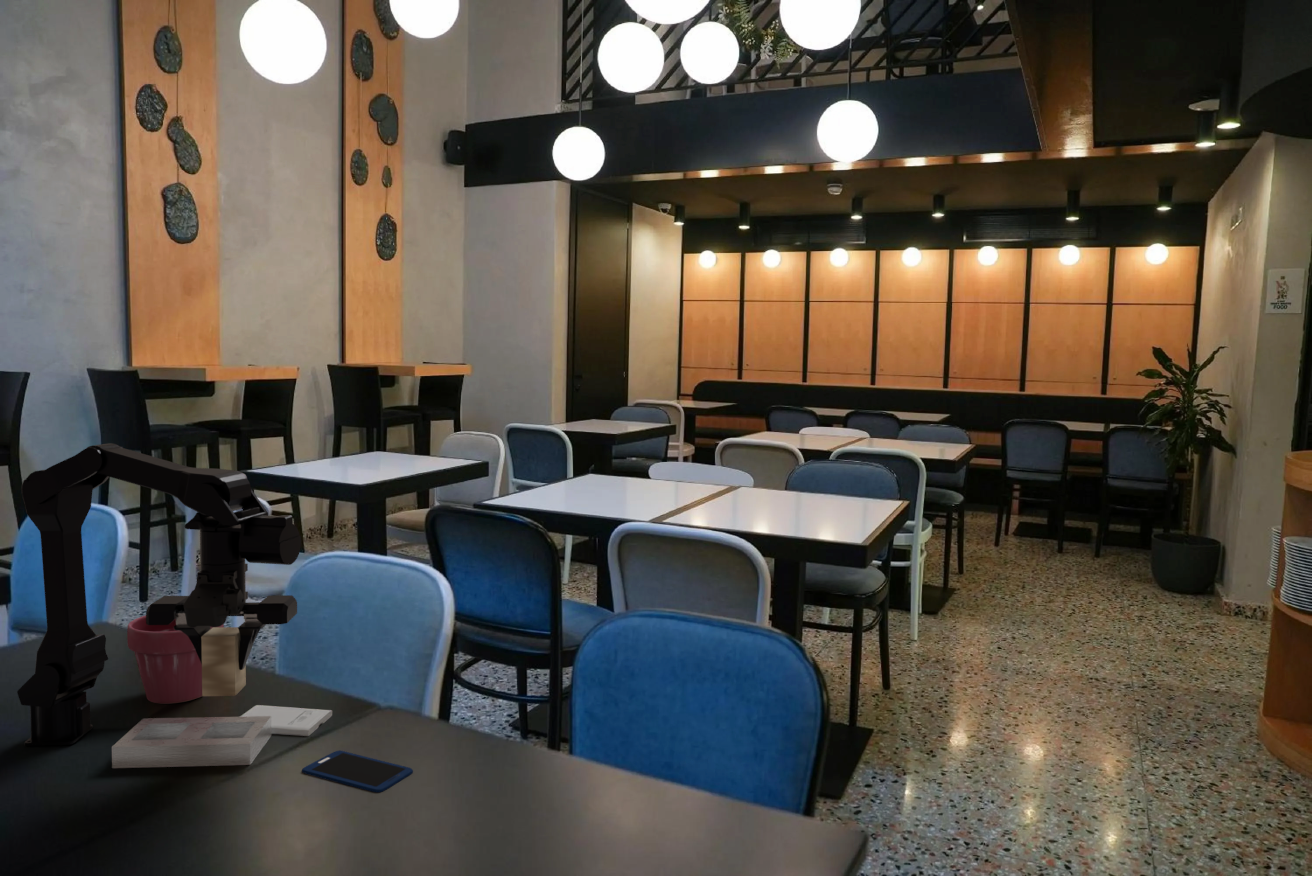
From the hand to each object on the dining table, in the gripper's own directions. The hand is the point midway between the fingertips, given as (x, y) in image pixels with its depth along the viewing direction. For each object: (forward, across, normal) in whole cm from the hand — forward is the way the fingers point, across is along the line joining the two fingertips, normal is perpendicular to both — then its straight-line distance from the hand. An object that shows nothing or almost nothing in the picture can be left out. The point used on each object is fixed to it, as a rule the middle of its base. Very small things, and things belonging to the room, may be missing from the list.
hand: (224, 669), depth 130 cm
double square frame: (+12, -4, 0) cm, 13 cm away
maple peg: (+3, 0, 0) cm, 3 cm away
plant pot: (+12, -16, +23) cm, 31 cm away
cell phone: (+13, +20, -7) cm, 25 cm away
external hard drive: (+13, +5, +10) cm, 17 cm away
